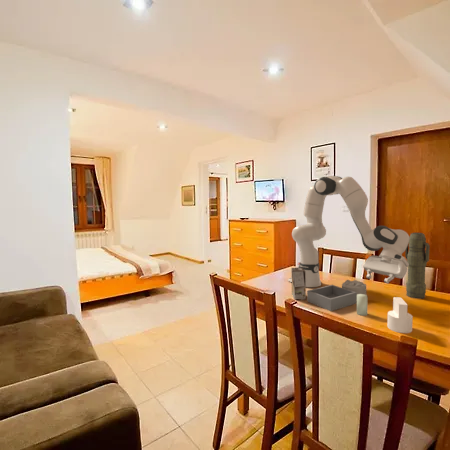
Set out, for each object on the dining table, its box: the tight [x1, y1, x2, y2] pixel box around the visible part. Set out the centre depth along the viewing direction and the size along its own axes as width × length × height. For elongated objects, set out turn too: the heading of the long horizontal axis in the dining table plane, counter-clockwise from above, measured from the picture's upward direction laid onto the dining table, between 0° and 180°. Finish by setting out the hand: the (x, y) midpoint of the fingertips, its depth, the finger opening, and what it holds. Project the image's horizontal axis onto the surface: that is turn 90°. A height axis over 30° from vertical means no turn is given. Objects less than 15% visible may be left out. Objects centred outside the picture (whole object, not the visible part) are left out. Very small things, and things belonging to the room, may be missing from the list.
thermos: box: [404, 232, 431, 300], centre depth 157 cm, size 9×12×35 cm
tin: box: [356, 294, 368, 317], centre depth 138 cm, size 5×5×9 cm
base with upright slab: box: [386, 296, 414, 334], centre depth 122 cm, size 9×9×12 cm
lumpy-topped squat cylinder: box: [341, 279, 367, 301], centre depth 161 cm, size 10×13×9 cm
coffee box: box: [290, 266, 307, 300], centre depth 163 cm, size 9×6×16 cm
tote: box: [306, 284, 357, 312], centre depth 154 cm, size 16×19×6 cm
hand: (376, 280), depth 142 cm, fingers open, 8 cm apart
